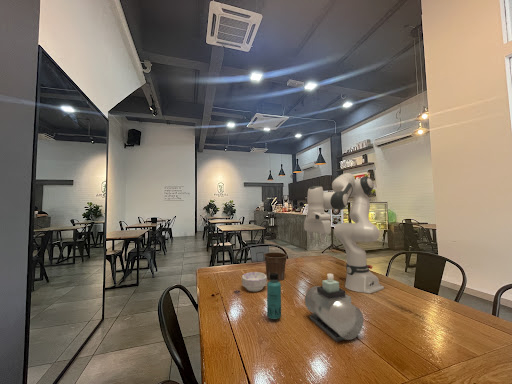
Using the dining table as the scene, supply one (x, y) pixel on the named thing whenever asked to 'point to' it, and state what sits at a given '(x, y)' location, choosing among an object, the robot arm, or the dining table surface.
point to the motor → (334, 313)
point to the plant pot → (275, 264)
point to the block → (330, 284)
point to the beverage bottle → (274, 297)
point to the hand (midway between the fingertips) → (316, 241)
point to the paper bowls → (254, 281)
